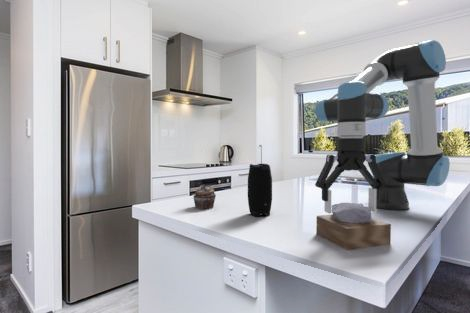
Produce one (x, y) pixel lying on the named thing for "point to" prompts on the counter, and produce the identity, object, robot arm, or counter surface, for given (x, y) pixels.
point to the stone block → (351, 213)
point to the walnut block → (354, 232)
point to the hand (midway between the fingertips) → (350, 211)
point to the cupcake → (204, 197)
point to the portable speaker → (259, 189)
